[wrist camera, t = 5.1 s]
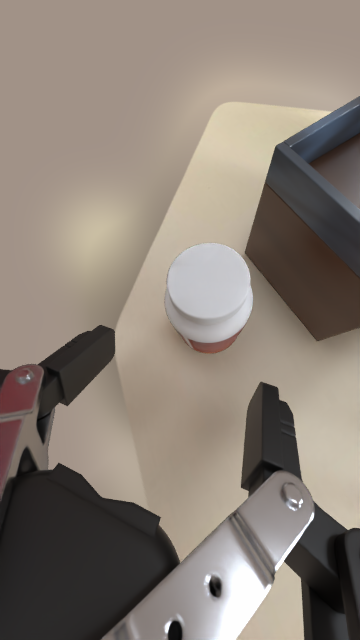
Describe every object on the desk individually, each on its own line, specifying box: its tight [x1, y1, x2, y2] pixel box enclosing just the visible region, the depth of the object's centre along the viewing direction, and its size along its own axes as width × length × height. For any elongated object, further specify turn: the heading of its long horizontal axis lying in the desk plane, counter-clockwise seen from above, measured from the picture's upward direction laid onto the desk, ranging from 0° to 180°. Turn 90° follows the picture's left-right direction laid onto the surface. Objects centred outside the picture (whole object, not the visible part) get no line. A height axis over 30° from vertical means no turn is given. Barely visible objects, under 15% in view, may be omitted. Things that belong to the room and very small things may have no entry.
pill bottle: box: [165, 243, 253, 353], centre depth 17 cm, size 6×6×11 cm
